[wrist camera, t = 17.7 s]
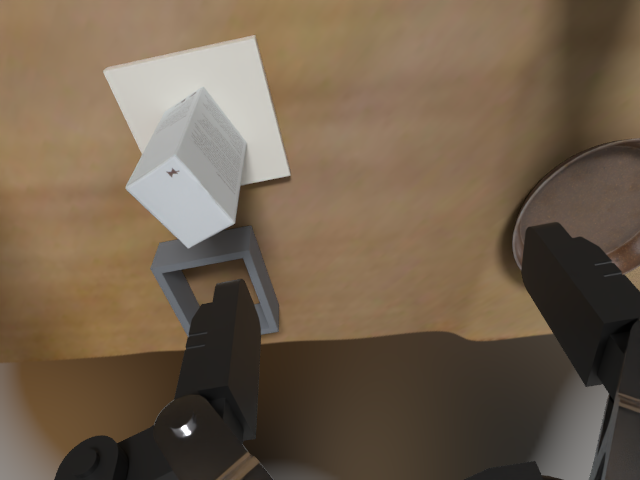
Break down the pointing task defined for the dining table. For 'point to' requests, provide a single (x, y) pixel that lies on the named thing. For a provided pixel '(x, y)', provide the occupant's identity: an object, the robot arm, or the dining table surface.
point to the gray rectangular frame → (212, 251)
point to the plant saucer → (591, 202)
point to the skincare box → (191, 170)
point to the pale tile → (223, 86)
